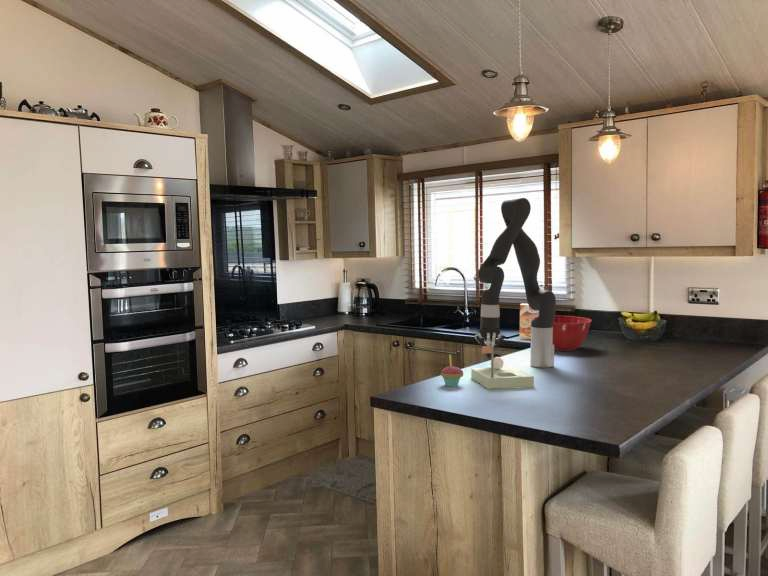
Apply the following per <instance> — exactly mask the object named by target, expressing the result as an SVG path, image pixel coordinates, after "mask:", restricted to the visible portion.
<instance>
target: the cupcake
mask: <svg viewBox="0 0 768 576" xmlns="http://www.w3.org/2000/svg"><path fill="white" fill-rule="evenodd" d="M448 358H449V366H446V367H444V368H443V369H441V371H440V376H441V377H442V378H443V381H444V384H445V386H447V387H458V386H459V383H460V379H461V378H462V377H463V376H464V371H463V370H462V369H461V368H460V367H456V366H453V365H452V355H451V354H449V355H448Z"/></svg>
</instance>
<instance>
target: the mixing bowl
mask: <svg viewBox="0 0 768 576" xmlns="http://www.w3.org/2000/svg"><path fill="white" fill-rule="evenodd" d="M536 318H537V317H535V318H533V319H536ZM591 322H592V319H591V318H587V317H581V316H574V315H555V319H554V322H553V341H552V344H553V345H554V352H556V351H557V352H572V351H571V350H573V351H576V350H577V349H579V347H581V346H582V345H583V342H585V340H586V337H587V335H588V333H589V330H590V327H591Z"/></svg>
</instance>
